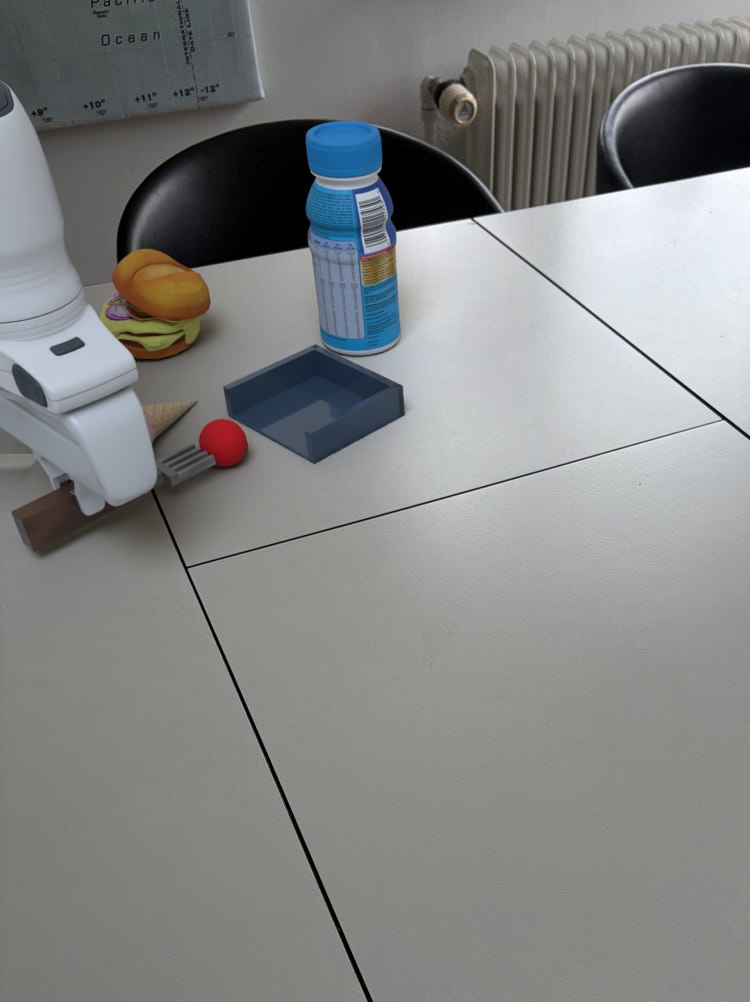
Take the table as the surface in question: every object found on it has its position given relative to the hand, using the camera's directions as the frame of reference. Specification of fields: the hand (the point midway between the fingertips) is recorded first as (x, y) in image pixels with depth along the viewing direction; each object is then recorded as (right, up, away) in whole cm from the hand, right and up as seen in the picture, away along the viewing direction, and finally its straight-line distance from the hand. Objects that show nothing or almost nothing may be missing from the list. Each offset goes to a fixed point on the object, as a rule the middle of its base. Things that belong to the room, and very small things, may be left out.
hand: (80, 501), depth 81 cm
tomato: (+9, +6, +8) cm, 13 cm away
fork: (+3, +1, +3) cm, 4 cm away
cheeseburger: (-2, +20, +26) cm, 33 cm away
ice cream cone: (+1, +7, +12) cm, 14 cm away
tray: (+16, +10, +15) cm, 24 cm away
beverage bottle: (+19, +20, +26) cm, 38 cm away
